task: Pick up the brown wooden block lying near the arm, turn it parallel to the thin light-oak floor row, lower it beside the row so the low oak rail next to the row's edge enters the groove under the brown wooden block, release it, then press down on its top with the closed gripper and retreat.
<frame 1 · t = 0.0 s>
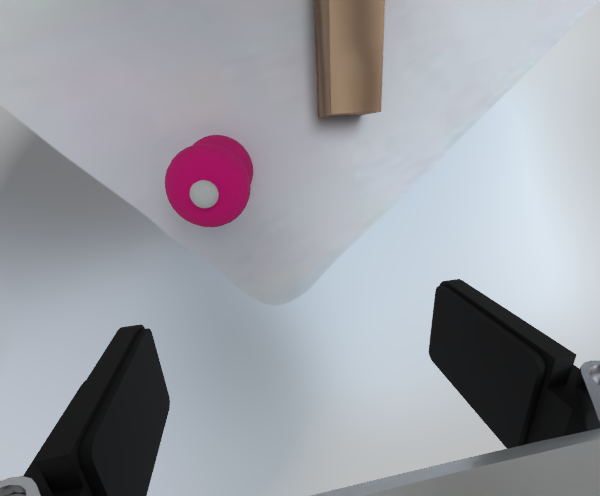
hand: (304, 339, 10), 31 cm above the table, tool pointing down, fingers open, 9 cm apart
pepper mill: (221, 166, 37), on the table
brown wooden block: (338, 40, 35), on the table
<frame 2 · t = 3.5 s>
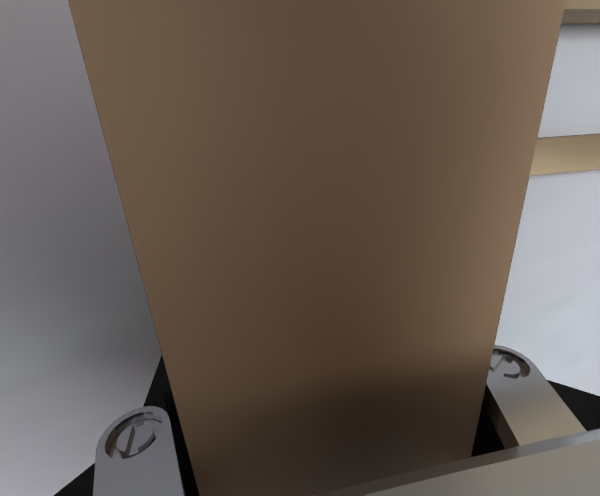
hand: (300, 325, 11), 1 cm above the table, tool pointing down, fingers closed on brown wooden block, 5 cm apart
brown wooden block: (296, 310, 11), on the table, touching gripper
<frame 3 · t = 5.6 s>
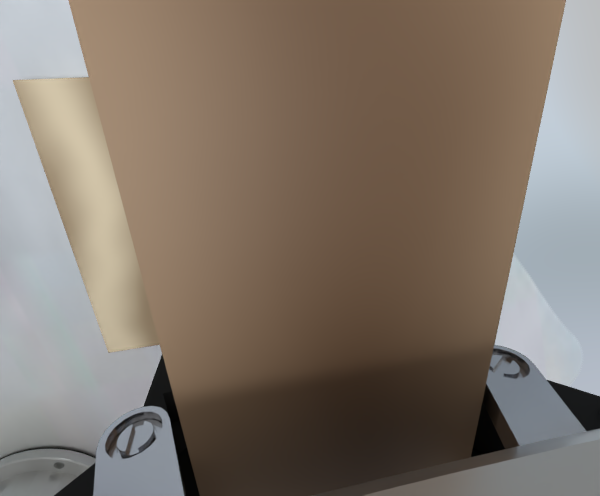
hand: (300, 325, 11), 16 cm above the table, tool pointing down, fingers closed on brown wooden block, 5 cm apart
brown wooden block: (296, 312, 12), point 15 cm above the table, touching gripper
board: (147, 226, 24), on the table
when the fingers open (2 cm above the table, at t = 7.8 s): brown wooden block drops 1 cm, resting in board.
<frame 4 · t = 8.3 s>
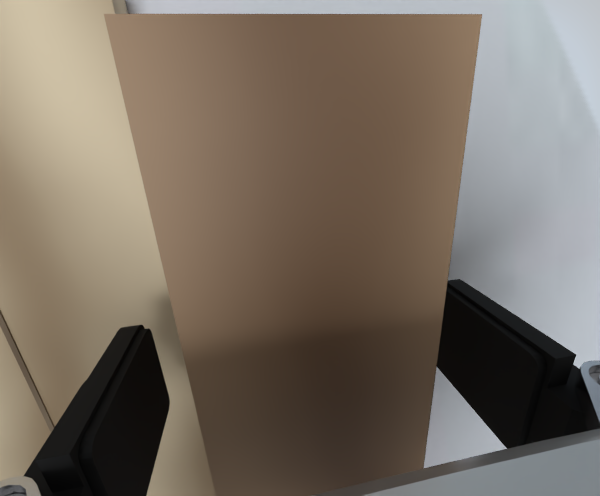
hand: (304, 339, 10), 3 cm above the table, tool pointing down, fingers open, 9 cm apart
brown wooden block: (288, 298, 13), resting in board
board: (49, 331, 11), on the table
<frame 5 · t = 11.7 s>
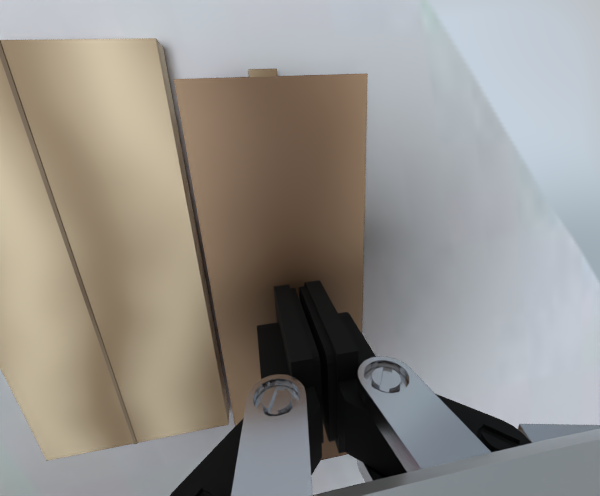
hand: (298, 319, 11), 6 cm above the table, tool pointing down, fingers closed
brown wooden block: (275, 258, 17), resting in board
board: (101, 279, 15), on the table
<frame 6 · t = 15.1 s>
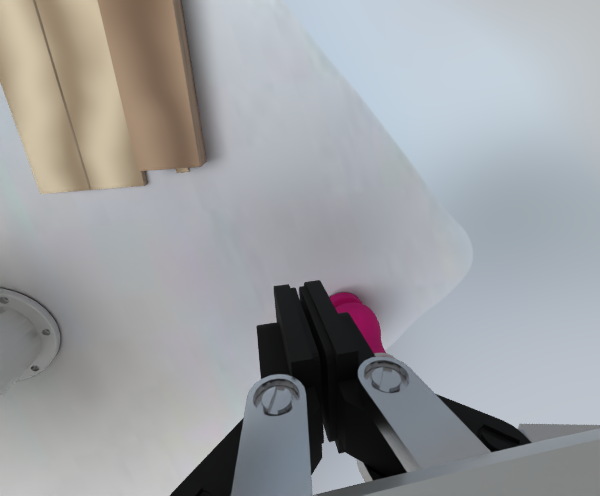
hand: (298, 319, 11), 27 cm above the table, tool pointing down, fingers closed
pepper mill: (340, 310, 44), on the table
brown wooden block: (166, 82, 31), resting in board
board: (68, 83, 29), on the table
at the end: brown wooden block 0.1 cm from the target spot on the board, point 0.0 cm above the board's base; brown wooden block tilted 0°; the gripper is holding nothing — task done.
